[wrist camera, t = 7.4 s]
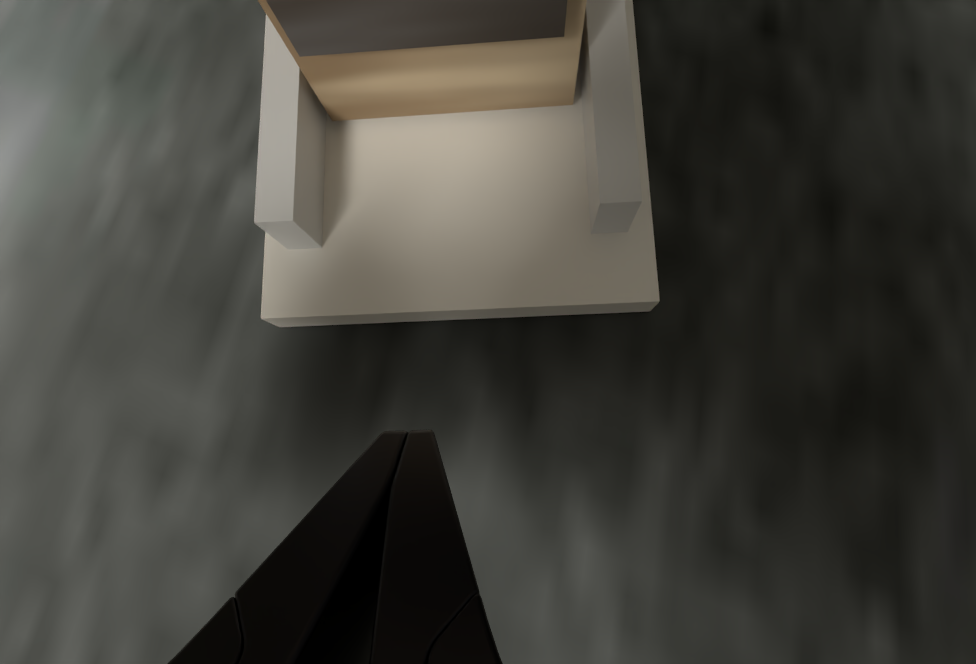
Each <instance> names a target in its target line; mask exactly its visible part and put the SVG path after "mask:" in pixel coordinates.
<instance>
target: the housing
mask: <svg viewBox="0 0 976 664" xmlns="http://www.w3.org/2000/svg"><path fill="white" fill-rule="evenodd" d="M254 223H255V224H256V225H258V226H259V227H260V228H261V229H263V230H264V231H265V249H264V268H263V286H262V305H261V319H262V320H265V321H267V322H269V323H271V324H274V325H276V326H278V327H298V326H321V325H344V324H368V323H391V322H415V321H438V320H462V319H485V318H509V317H532V316H555V315H579V314H602V313H626V312H649V311H651V310H652V309H653V308H654V307H655V306H656V305H657V304H658V303H659V302H660V298H659V287H658V276H657V265H656V254H655V243H654V232H653V221H652V210H651V199H650V188H649V177H648V166H647V155H646V144H645V132H644V121H643V110H642V99H641V88H640V77H639V66H638V55H637V44H636V33H635V22H634V11H633V0H587V2H586V10H585V17H584V25H583V33H582V40H581V48H580V55H579V63H578V70H577V78H576V86H575V93H574V101H573V105H564V106H549V107H534V108H520V109H505V110H490V111H475V112H460V113H445V114H431V115H416V116H401V117H386V118H371V119H357V120H342V121H332V120H331V118H330V116H329V115H328V113H327V112H326V110H325V108H324V107H323V105H322V103H321V102H320V100H319V99H318V97H317V95H316V94H315V92H314V90H313V89H312V87H311V86H310V84H309V82H308V81H307V79H306V77H305V76H304V74H303V73H302V71H301V69H300V68H299V66H298V64H297V63H296V61H295V60H294V58H293V56H292V55H291V53H290V52H289V50H288V48H287V47H286V45H285V43H284V42H283V40H282V39H281V37H280V35H279V34H278V32H277V30H276V29H275V27H274V26H273V24H272V22H271V21H270V19H269V17H268V16H267V14H266V26H265V43H264V60H263V78H262V95H261V112H260V129H259V147H258V164H257V181H256V198H255V216H254Z"/></svg>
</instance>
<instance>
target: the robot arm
mask: <svg viewBox="0 0 976 664" xmlns="http://www.w3.org/2000/svg"><path fill="white" fill-rule="evenodd" d="M168 664H503V663H502V661H501V658H500V656H499V653H498V650H497V647H496V644H495V641H494V638H493V635H492V632H491V629H490V626H489V623H488V619H487V616H486V612H485V609H484V605H483V602H482V598H481V596H480V594H479V589H478V585H477V582H476V578H475V575H474V571H473V568H472V564H471V561H470V557H469V554H468V550H467V547H466V543H465V540H464V536H463V533H462V529H461V526H460V522H459V519H458V515H457V511H456V508H455V504H454V501H453V497H452V494H451V490H450V487H449V483H448V480H447V476H446V473H445V469H444V466H443V462H442V459H441V455H440V452H439V448H438V445H437V441H436V438H435V434H434V432H433V431H432V430H412V431H410V432H409V433H408V432H406V431H385V432H383V433H381V434H380V435H379V436H378V437H377V439H376V440H375V441H374V442H373V443H372V444H371V445H370V446H369V447H368V448H367V449H366V451H365V452H364V453H363V454H362V455H361V456H360V457H359V458H358V459H357V460H356V461H355V463H354V464H353V465H352V466H351V467H350V468H349V469H348V470H347V471H346V472H345V473H344V475H343V476H342V477H341V478H340V479H339V480H338V481H337V482H336V483H335V484H334V485H333V487H332V488H331V489H330V490H329V491H328V492H327V493H326V494H325V495H324V496H323V497H322V499H321V500H320V501H319V502H318V503H317V504H316V505H315V506H314V507H313V508H312V509H311V511H310V512H309V513H308V514H307V515H306V516H305V517H304V518H303V519H302V520H301V521H300V523H299V524H298V525H297V526H296V527H295V528H294V529H293V530H292V531H291V532H290V533H289V535H288V536H287V537H286V538H285V539H284V540H283V541H282V542H281V543H280V544H279V545H278V547H277V548H276V549H275V550H274V551H273V552H272V553H271V554H270V555H269V556H268V557H267V559H266V560H265V561H264V562H263V563H262V564H261V565H260V566H259V567H258V568H257V569H256V571H255V572H254V573H253V574H252V575H251V576H250V577H249V578H248V579H247V580H246V581H245V583H244V584H243V585H242V586H241V587H240V588H239V589H238V590H237V591H236V593H235V598H234V597H231V598H230V599H229V600H228V601H227V602H226V603H225V604H224V605H223V606H222V607H221V608H220V610H219V611H218V612H217V613H216V614H215V615H214V616H213V617H212V618H211V619H210V620H209V621H208V623H207V624H206V625H205V626H204V627H203V628H202V629H201V630H200V631H199V632H198V633H197V634H196V635H195V636H194V637H193V638H192V639H191V640H190V641H189V642H188V643H187V644H186V646H185V647H184V648H183V649H182V650H181V651H180V652H179V653H178V654H177V655H176V656H175V657H174V658H173V659H172V660H171V661H170V662H169V663H168Z"/></svg>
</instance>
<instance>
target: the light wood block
mask: <svg viewBox="0 0 976 664" xmlns="http://www.w3.org/2000/svg"><path fill="white" fill-rule="evenodd" d="M258 1H259V3H260V4H261V6H262V8H263V9H264V11H265V13H266V14H267V16H268V17H269V19H270V21H271V22H272V24H273V26H274V27H275V29H276V30H277V32H278V34H279V35H280V37H281V39H282V40H283V42H284V43H285V45H286V47H287V48H288V50H289V52H290V53H291V55H292V56H293V58H294V60H295V61H296V63H297V64H298V66H299V68H300V69H301V71H302V73H303V74H304V76H305V77H306V79H307V81H308V82H309V84H310V86H311V87H312V89H313V90H314V92H315V94H316V95H317V97H318V99H319V100H320V102H321V103H322V105H323V107H324V108H325V110H326V112H327V113H328V115H329V116H330V118H331V120H332V121H342V120H357V119H371V118H386V117H401V116H416V115H431V114H445V113H460V112H475V111H490V110H505V109H520V108H534V107H549V106H564V105H573V101H574V93H575V86H576V78H577V70H578V63H579V55H580V48H581V40H582V33H583V25H584V17H585V10H586V2H587V0H258Z"/></svg>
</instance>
